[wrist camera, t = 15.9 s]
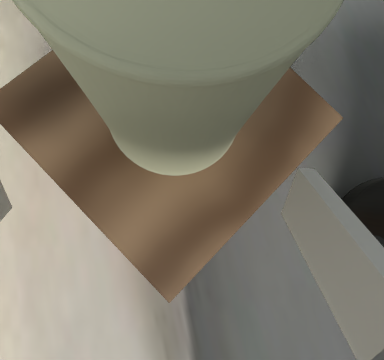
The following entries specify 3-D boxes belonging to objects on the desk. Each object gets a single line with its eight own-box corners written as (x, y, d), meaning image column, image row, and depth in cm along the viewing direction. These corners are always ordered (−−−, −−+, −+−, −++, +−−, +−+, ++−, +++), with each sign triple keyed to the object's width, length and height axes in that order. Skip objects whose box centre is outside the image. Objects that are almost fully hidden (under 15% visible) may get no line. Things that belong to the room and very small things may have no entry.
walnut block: (291, 148, 26) (343, 117, 18) (170, 274, 23) (169, 303, 15) (174, 34, 27) (175, -42, 19) (43, 140, 24) (-20, 103, 16)
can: (100, 59, 17) (-54, -281, 6) (225, 46, 18) (323, -265, 6) (117, 186, 16) (-35, 98, 4) (250, 165, 17) (428, 45, 5)
